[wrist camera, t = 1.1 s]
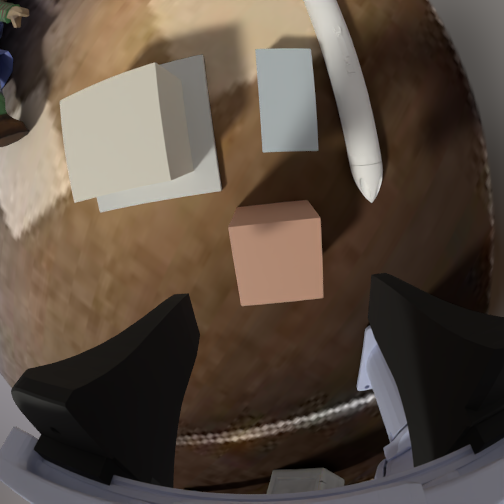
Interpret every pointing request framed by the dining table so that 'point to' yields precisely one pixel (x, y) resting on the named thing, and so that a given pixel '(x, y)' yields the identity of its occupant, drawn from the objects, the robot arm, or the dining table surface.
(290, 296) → the top block
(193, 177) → the plate
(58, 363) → the robot arm
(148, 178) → the base block
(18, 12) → the toy
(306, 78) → the brick
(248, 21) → the dining table surface
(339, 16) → the marker
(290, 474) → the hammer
